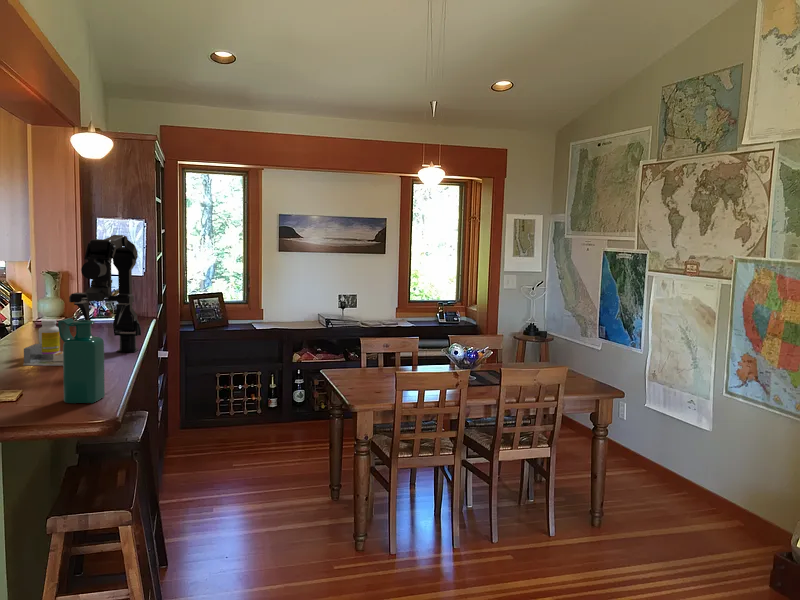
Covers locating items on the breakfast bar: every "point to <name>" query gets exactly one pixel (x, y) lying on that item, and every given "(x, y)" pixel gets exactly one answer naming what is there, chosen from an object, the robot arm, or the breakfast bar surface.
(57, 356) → the thick grey end plate
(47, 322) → the supplement bottle
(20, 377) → the breakfast bar surface
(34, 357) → the track
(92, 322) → the pitcher
